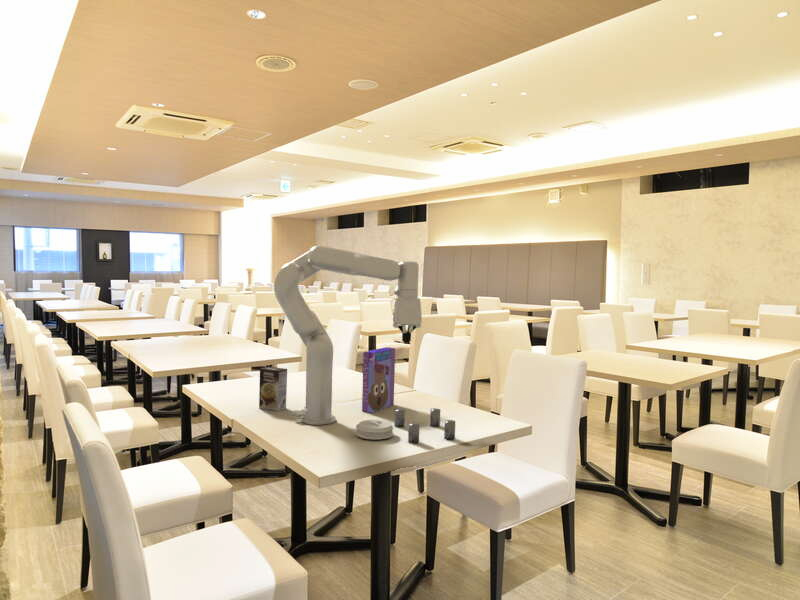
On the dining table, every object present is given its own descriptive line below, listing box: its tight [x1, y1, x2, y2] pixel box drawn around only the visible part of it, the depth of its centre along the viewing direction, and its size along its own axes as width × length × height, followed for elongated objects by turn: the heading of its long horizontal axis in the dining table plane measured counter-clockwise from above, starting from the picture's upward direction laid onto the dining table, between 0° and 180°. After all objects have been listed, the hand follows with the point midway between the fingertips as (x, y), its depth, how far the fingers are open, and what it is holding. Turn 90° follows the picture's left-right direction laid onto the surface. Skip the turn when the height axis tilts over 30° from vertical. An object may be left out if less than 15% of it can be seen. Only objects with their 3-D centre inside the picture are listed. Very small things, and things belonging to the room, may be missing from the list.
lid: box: [355, 419, 394, 440], centre depth 187 cm, size 13×13×5 cm
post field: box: [394, 407, 456, 444], centre depth 192 cm, size 17×23×6 cm
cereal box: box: [361, 347, 396, 414], centre depth 225 cm, size 17×5×24 cm, turn 152°
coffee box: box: [258, 366, 288, 412], centre depth 220 cm, size 9×6×16 cm
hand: (406, 343), depth 208 cm, fingers closed
